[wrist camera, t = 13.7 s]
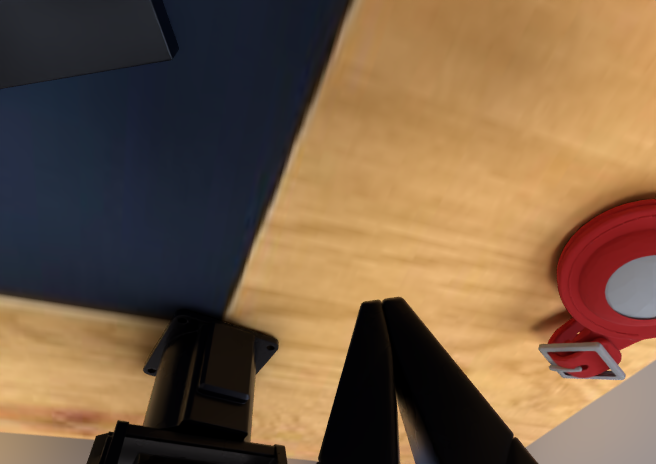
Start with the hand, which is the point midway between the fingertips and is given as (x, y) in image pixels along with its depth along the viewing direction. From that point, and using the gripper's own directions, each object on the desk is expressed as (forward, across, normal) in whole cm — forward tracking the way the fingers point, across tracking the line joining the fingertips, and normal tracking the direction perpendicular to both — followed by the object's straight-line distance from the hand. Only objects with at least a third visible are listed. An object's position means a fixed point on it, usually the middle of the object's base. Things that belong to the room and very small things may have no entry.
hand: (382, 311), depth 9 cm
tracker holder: (+11, -14, +13) cm, 22 cm away
